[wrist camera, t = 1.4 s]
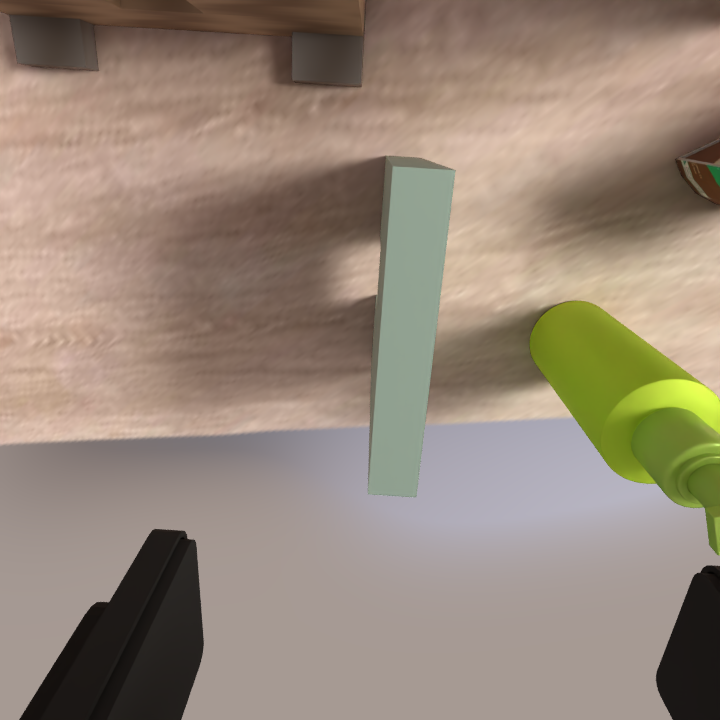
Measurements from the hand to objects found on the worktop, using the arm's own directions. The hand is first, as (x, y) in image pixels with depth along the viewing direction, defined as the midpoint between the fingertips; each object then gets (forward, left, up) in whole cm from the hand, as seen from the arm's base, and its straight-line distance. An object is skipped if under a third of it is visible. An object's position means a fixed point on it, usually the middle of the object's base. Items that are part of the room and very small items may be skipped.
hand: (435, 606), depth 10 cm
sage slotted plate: (0, 0, -28) cm, 28 cm away
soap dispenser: (+11, +9, -28) cm, 32 cm away
